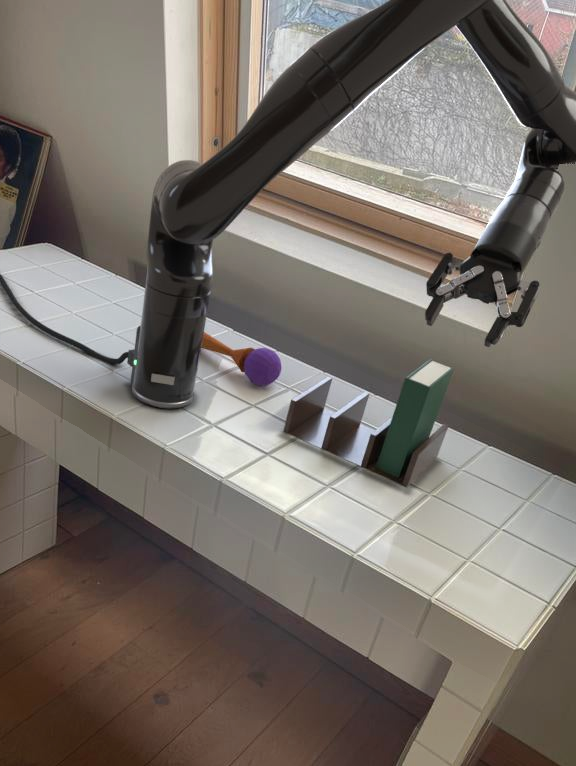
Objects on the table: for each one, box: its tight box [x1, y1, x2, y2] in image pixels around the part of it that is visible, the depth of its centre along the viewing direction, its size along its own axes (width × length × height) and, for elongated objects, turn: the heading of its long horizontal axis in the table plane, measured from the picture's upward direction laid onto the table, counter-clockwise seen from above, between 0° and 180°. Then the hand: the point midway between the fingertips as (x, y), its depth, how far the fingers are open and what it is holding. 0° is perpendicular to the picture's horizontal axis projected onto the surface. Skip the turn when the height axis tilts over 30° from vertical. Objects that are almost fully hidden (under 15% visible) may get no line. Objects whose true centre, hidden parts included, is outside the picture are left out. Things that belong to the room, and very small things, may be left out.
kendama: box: [201, 331, 282, 387], centre depth 136 cm, size 6×6×20 cm
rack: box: [283, 376, 449, 488], centre depth 119 cm, size 20×12×6 cm, turn 55°
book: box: [376, 358, 455, 478], centre depth 114 cm, size 4×10×14 cm, turn 145°
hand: (457, 333), depth 113 cm, fingers open, 8 cm apart
